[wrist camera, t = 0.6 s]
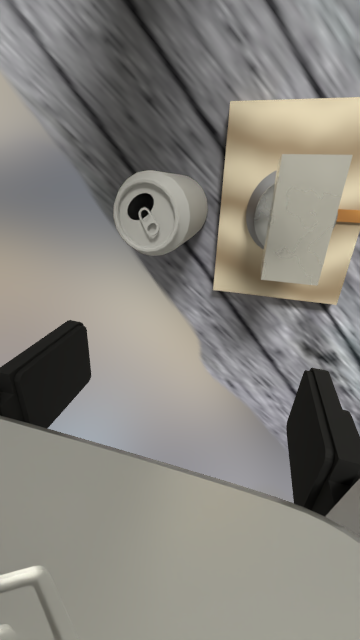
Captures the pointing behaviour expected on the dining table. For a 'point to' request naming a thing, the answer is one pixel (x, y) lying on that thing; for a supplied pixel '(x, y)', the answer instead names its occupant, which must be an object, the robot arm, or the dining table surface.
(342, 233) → the base plate
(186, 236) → the can
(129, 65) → the dining table surface
